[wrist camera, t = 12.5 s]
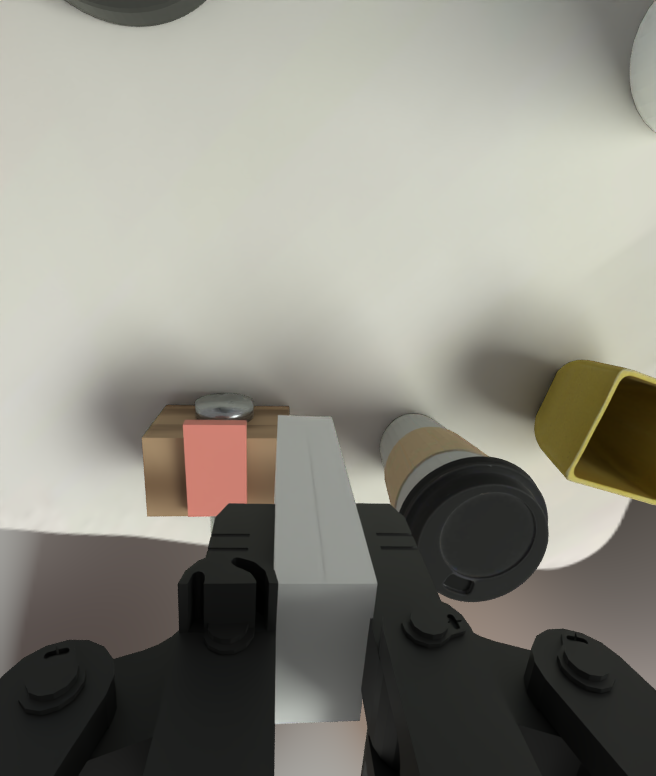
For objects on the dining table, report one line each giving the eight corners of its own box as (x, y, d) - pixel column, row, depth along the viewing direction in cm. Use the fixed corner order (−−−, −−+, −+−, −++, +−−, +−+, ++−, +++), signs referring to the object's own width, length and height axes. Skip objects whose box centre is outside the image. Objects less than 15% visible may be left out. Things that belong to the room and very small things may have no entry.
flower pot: (588, 458, 43) (664, 509, 35) (506, 433, 42) (565, 480, 33) (632, 371, 41) (726, 402, 33) (548, 341, 40) (623, 366, 31)
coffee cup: (360, 495, 42) (402, 621, 28) (358, 396, 39) (404, 478, 25) (461, 486, 43) (553, 604, 28) (466, 388, 40) (570, 465, 26)
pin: (200, 392, 37) (190, 410, 33) (255, 393, 38) (251, 411, 34) (204, 515, 40) (195, 545, 36) (254, 514, 41) (251, 544, 37)
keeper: (185, 419, 31) (182, 424, 30) (246, 420, 31) (245, 425, 30) (190, 509, 33) (188, 516, 32) (247, 509, 33) (246, 515, 33)
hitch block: (166, 404, 38) (141, 437, 31) (289, 406, 39) (290, 438, 32) (169, 471, 39) (147, 516, 33) (287, 471, 41) (288, 514, 34)
